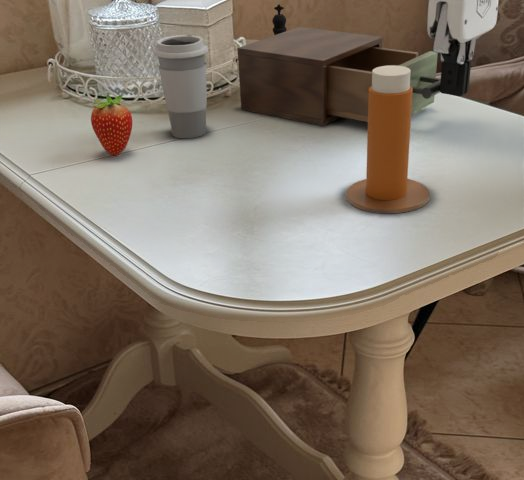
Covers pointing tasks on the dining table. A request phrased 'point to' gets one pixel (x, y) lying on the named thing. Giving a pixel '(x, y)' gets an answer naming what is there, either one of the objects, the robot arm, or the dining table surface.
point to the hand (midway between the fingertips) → (453, 92)
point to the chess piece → (279, 21)
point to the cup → (184, 83)
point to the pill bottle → (388, 132)
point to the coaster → (411, 201)
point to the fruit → (112, 124)
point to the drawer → (360, 80)
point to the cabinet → (295, 71)
